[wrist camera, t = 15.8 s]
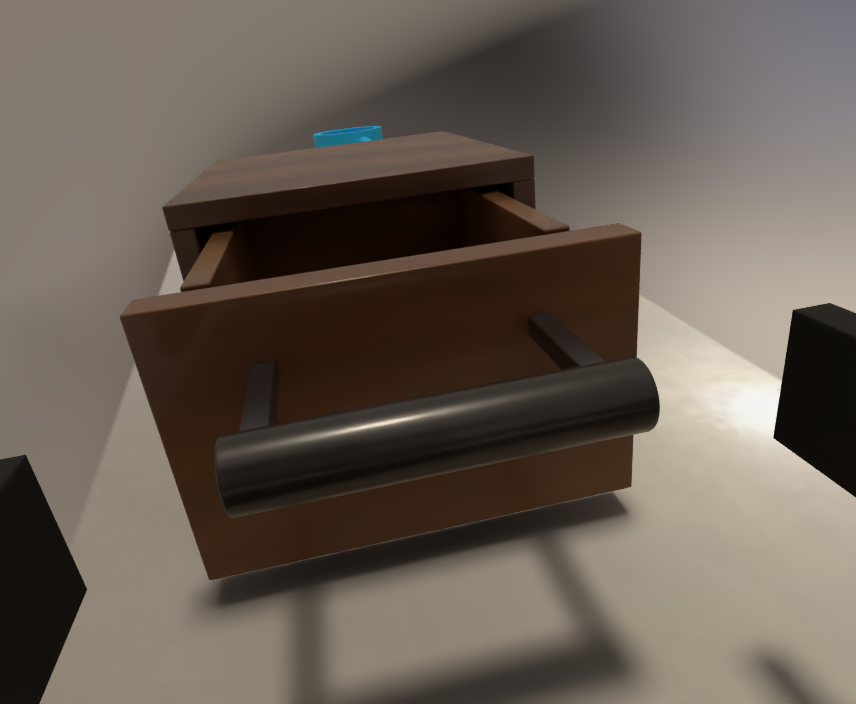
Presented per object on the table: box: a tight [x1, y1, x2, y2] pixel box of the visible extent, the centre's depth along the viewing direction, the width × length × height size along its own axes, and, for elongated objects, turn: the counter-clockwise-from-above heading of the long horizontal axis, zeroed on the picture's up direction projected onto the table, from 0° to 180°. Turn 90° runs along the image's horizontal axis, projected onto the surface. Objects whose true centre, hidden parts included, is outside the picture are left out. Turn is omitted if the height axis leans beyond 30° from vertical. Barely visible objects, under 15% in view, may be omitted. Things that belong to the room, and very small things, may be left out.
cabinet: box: [163, 131, 535, 281], centre depth 31 cm, size 16×14×10 cm
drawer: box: [120, 186, 660, 580], centre depth 20 cm, size 20×13×8 cm, turn 11°
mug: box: [313, 126, 383, 148], centre depth 72 cm, size 12×8×8 cm
